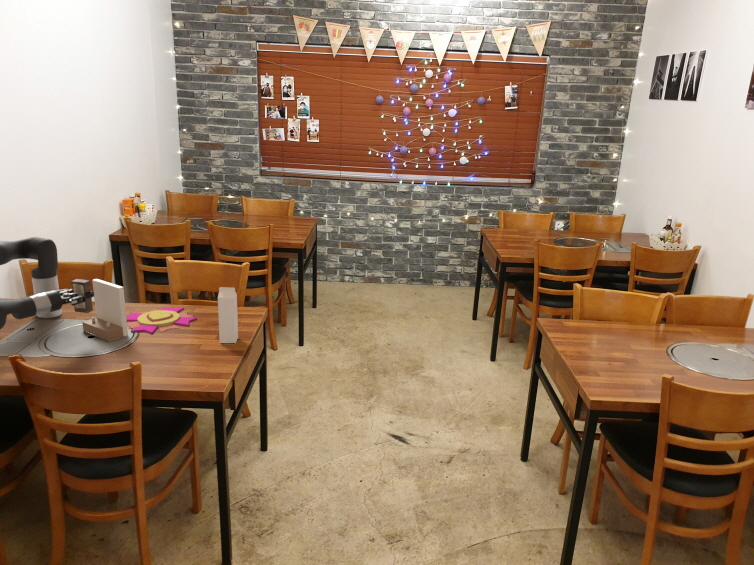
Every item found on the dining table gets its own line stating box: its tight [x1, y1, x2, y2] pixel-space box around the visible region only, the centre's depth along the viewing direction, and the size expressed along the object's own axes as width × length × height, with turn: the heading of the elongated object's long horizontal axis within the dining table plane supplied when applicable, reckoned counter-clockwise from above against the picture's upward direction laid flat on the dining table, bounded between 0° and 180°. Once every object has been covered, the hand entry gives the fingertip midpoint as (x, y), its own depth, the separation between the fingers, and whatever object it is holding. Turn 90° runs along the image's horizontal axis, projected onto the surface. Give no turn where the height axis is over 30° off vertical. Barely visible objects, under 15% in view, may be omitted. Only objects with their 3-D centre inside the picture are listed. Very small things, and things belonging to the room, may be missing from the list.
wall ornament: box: [126, 305, 198, 335], centre depth 246 cm, size 30×2×30 cm
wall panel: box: [81, 278, 129, 342], centre depth 228 cm, size 17×8×20 cm, turn 58°
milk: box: [217, 286, 239, 344], centre depth 225 cm, size 6×6×22 cm
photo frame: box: [71, 278, 94, 314], centre depth 219 cm, size 6×3×12 cm, turn 78°
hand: (88, 291), depth 221 cm, fingers closed on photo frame, 6 cm apart
